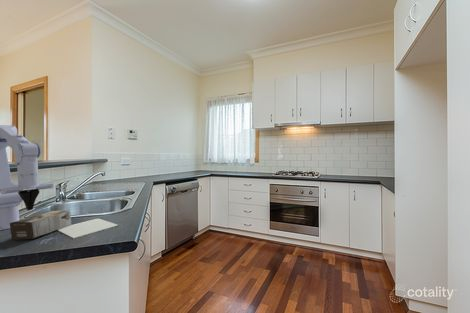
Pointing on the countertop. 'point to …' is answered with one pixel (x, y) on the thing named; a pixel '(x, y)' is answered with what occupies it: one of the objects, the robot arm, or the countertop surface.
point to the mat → (86, 228)
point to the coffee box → (40, 224)
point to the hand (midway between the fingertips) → (29, 209)
